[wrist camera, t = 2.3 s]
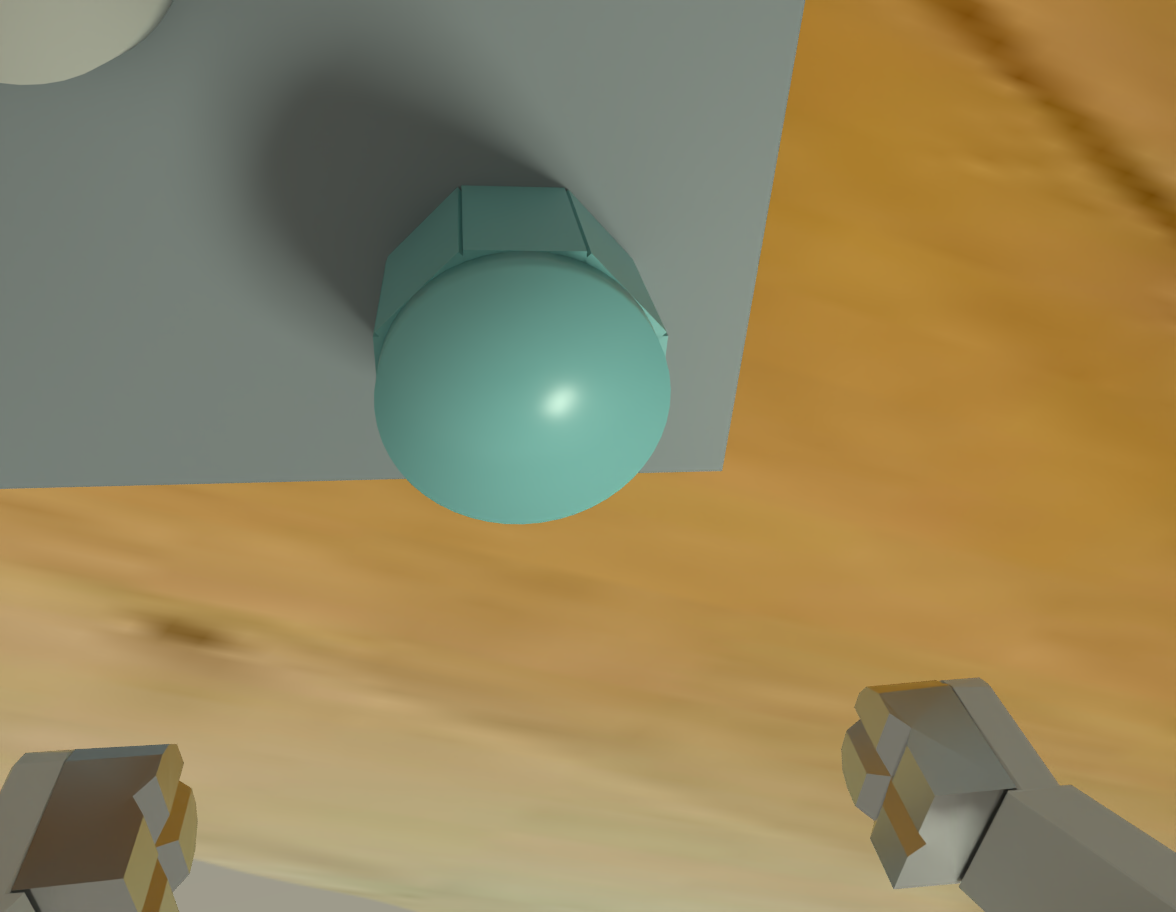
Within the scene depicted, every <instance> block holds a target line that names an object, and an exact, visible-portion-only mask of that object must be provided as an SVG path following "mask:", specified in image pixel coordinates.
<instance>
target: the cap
mask: <svg viewBox="0 0 1176 912" xmlns="http://www.w3.org/2000/svg"><path fill="white" fill-rule="evenodd" d="M461 189H462V191H461V190H460V189H459V188H458V187H457V188H456V189H455V190H454V191H453V192H452V193H451V194H450V195H449V196H448V197H447V198H446V199H445V200H444V201H443V202H442V203H441V204H440V205H439V206H438V207H437V208H436V209H435V210H434V211H433V212H432V213H431V214H430V215H429V216H428V217H427V218H426V219H425V220H424V221H423V222H422V223H421V224H420V225H419V226H418V227H417V228H416V229H415V230H414V231H413V232H412V233H411V234H410V235H409V236H408V237H407V238H406V239H405V240H404V241H403V242H402V243H401V244H400V245H399V246H398V247H397V248H396V249H395V250H394V251H393V252H392V253H391V254H390V255H389V256H388V257H387V260H386V264H385V270H384V275H383V281H382V287H381V293H380V298H379V304H378V310H377V316H376V321H375V327H374V333H373V345H374V357H375V368H376V383H375V389H374V411H375V417H376V423H377V428H378V431H379V434H380V437H381V440H382V443H383V445H384V447H385V449H386V451H387V453H388V455H389V457H390V458H391V460H392V461H393V463H394V464H395V466H396V467H397V468H398V470H399V471H400V472H401V474H402V475H403V476H404V477H405V478H406V479H407V480H408V481H409V482H410V483H411V484H412V485H413V486H414V487H415V488H417V489H418V490H419V491H420V492H421V493H423V494H424V495H425V496H427V497H428V498H430V499H431V500H433V501H434V502H436V503H438V504H439V505H441V506H443V507H445V508H448V509H450V510H452V511H454V512H456V513H459V514H462V515H465V516H468V517H470V518H475V519H479V520H483V521H487V522H495V523H503V524H530V523H541V522H546V521H552V520H557V519H561V518H564V517H567V516H571V515H574V514H577V513H579V512H582V511H584V510H586V509H589V508H591V507H593V506H595V505H597V504H598V503H600V502H602V501H604V500H606V499H607V498H609V497H610V496H611V495H613V494H614V493H616V492H617V491H619V490H620V489H621V488H622V487H623V486H625V485H626V484H627V483H628V482H629V481H630V480H631V479H633V477H634V476H635V475H636V474H637V473H638V472H639V471H640V470H641V469H642V467H643V466H644V465H645V464H646V462H647V461H648V459H649V458H650V456H651V455H652V453H653V452H654V450H655V448H656V446H657V444H658V442H659V440H660V438H661V436H662V433H663V431H664V428H665V425H666V422H667V417H668V413H669V408H670V395H671V386H670V375H669V369H668V365H667V361H666V349H667V341H668V335H667V333H666V332H667V331H666V329H665V327H664V325H663V323H662V321H661V319H660V316H659V314H658V312H657V310H656V308H655V306H654V304H653V301H652V299H651V297H650V295H649V293H648V291H647V289H646V286H645V284H644V282H643V280H642V278H641V276H640V274H639V271H638V269H637V267H636V265H635V263H634V261H633V259H632V258H631V257H630V256H629V255H628V253H627V252H626V251H625V250H624V249H623V248H622V247H621V246H620V245H619V244H618V243H617V242H616V240H615V239H614V238H613V237H612V236H611V235H610V234H609V233H608V232H607V231H606V230H605V229H604V227H603V226H602V225H601V224H600V223H599V222H598V221H597V220H596V219H595V218H594V217H593V216H592V214H591V213H590V212H589V211H588V210H587V209H586V208H585V207H584V206H583V205H582V204H581V203H580V201H579V200H578V199H577V198H576V197H575V196H574V195H573V194H572V193H571V192H570V191H569V190H567V191H566V190H565V188H559V187H513V186H468V185H461Z"/></svg>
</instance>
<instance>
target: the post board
mask: <svg viewBox="0 0 1176 912" xmlns="http://www.w3.org/2000/svg"><path fill="white" fill-rule="evenodd" d="M804 4H805V0H0V489H10V488H50V487H91V486H131V485H171V484H212V483H252V482H292V481H332V480H373V479H406V478H405V477H404V476H403V475H402V474H401V472H400V471H399V470H398V468H397V467H396V466H395V464H394V463H393V461H392V460H391V458H390V457H389V455H388V453H387V451H386V449H385V447H384V445H383V443H382V440H381V437H380V434H379V431H378V428H377V423H376V417H375V411H374V389H375V383H376V368H375V357H374V345H373V333H374V327H375V321H376V316H377V310H378V304H379V298H380V293H381V287H382V281H383V275H384V270H385V264H386V260H387V257H388V256H389V255H390V254H391V253H392V252H393V251H394V250H395V249H396V248H397V247H398V246H399V245H400V244H401V243H402V242H403V241H404V240H405V239H406V238H407V237H408V236H409V235H410V234H411V233H412V232H413V231H414V230H415V229H416V228H417V227H418V226H419V225H420V224H421V223H422V222H423V221H424V220H425V219H426V218H427V217H428V216H429V215H430V214H431V213H432V212H433V211H434V210H435V209H436V208H437V207H438V206H439V205H440V204H441V203H442V202H443V201H444V200H445V199H446V198H447V197H448V196H449V195H450V194H451V193H452V192H453V191H454V190H455V189H456V188H457V187H458V188H459V189H460V190H461V191H462V189H461V185H468V186H513V187H559V188H565V190H566V191H567V190H569V191H570V192H571V193H572V194H573V195H574V196H575V197H576V198H577V199H578V200H579V201H580V203H581V204H582V205H583V206H584V207H585V208H586V209H587V210H588V211H589V212H590V213H591V214H592V216H593V217H594V218H595V219H596V220H597V221H598V222H599V223H600V224H601V225H602V226H603V227H604V229H605V230H606V231H607V232H608V233H609V234H610V235H611V236H612V237H613V238H614V239H615V240H616V242H617V243H618V244H619V245H620V246H621V247H622V248H623V249H624V250H625V251H626V252H627V253H628V255H629V256H630V257H631V258H632V259H633V261H634V263H635V265H636V267H637V269H638V271H639V274H640V276H641V278H642V280H643V282H644V284H645V286H646V289H647V291H648V293H649V295H650V297H651V299H652V301H653V304H654V306H655V308H656V310H657V312H658V314H659V316H660V319H661V321H662V323H663V325H664V327H665V329H666V331H667V332H666V333H667V335H668V341H667V349H666V361H667V365H668V369H669V375H670V386H671V395H670V408H669V413H668V417H667V422H666V425H665V428H664V431H663V433H662V436H661V438H660V440H659V442H658V444H657V446H656V448H655V450H654V452H653V453H652V455H651V456H650V458H649V459H648V461H647V462H646V464H645V465H644V466H643V467H642V469H641V470H640V471H639V472H638V473H655V472H695V471H722V468H723V462H724V457H725V451H726V445H727V440H728V434H729V428H730V423H731V417H732V411H733V406H734V400H735V394H736V389H737V383H738V377H739V372H740V366H741V360H742V355H743V349H744V343H745V338H746V332H747V326H748V321H749V315H750V309H751V304H752V298H753V292H754V287H755V281H756V275H757V270H758V264H759V258H760V253H761V247H762V241H763V236H764V230H765V224H766V219H767V213H768V207H769V202H770V196H771V190H772V185H773V179H774V173H775V168H776V162H777V156H778V151H779V145H780V139H781V134H782V128H783V122H784V117H785V111H786V105H787V100H788V94H789V89H790V83H791V77H792V72H793V66H794V60H795V55H796V49H797V43H798V38H799V32H800V26H801V21H802V15H803V9H804Z"/></svg>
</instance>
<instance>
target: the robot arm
mask: <svg viewBox="0 0 1176 912" xmlns="http://www.w3.org/2000/svg"><path fill="white" fill-rule="evenodd" d="M855 709H856V711H857V713H858V715H859V717H860V720H859V721H857V722H856V723H855V724H854V725H853V726H852V727H850V728H849V729H848V730H847V731H846V734H845V738H844V741H843V745H842V749H841V750H842V769H843V774H844V777H845V781H846V785H847V788H848V790H849V793H850V795H851V797H852V799H853V802H854V804H855V806H856V807H857V808H859V809H860V810H861V811H862V812H864V813H865V814H866V815H868V816H869V817H870V818H871V819H873V820H874V825H873V829H872V833H871V837H870V839H871V841H872V844H873V846H874V848H875V850H876V852H877V854H878V856H879V859H880V861H881V863H882V865H883V867H884V869H885V871H886V874H887V876H888V878H889V880H890V882H891V884H892V887H893V889H901V888H912V887H923V886H934V885H946V884H957V883H960V885H959V888H960V889H961V890H962V891H963V892H965V893H966V894H967V895H968V896H969V897H970V898H971V899H972V900H973V901H974V902H975V903H976V904H977V905H978V906H980V907H981V908H982V909H983V910H984V911H985V912H1176V853H1175V852H1174V851H1172V850H1171V849H1169V848H1168V847H1166V846H1165V845H1163V844H1161V843H1160V842H1158V841H1157V840H1155V839H1154V838H1152V837H1151V836H1149V835H1148V834H1146V833H1145V832H1143V831H1141V830H1140V829H1138V828H1137V827H1135V826H1134V825H1132V824H1131V823H1129V822H1128V821H1126V820H1125V819H1123V818H1121V817H1120V816H1118V815H1117V814H1115V813H1114V812H1112V811H1111V810H1109V809H1108V808H1106V807H1105V806H1103V805H1101V804H1100V803H1098V802H1097V801H1095V800H1094V799H1092V798H1091V797H1089V796H1088V795H1086V794H1084V793H1083V792H1081V791H1080V790H1078V789H1077V788H1075V787H1074V786H1072V785H1059V784H1058V782H1057V781H1056V779H1055V778H1054V776H1053V775H1052V774H1051V772H1050V771H1049V769H1048V768H1047V767H1046V765H1045V764H1044V762H1043V761H1042V759H1041V758H1040V757H1039V755H1038V754H1037V752H1036V751H1035V749H1034V748H1033V747H1032V745H1031V744H1030V742H1029V741H1028V739H1027V738H1026V737H1025V735H1024V734H1023V732H1022V731H1021V729H1020V728H1019V727H1018V725H1017V724H1016V722H1015V721H1014V720H1013V718H1012V717H1011V715H1010V714H1009V712H1008V711H1007V710H1006V708H1005V707H1004V705H1003V704H1002V702H1001V701H1000V700H999V698H998V697H997V695H996V694H995V692H994V691H993V690H992V688H991V687H990V686H989V684H988V683H986V682H985V681H983V680H982V679H981V678H967V679H954V680H942V681H937V680H932V681H922V682H911V683H901V684H890V685H880V686H869V687H866V688H865V689H863V690H862V691H861V692H860V693H859V695H858V698H857V701H856V704H855ZM183 764H184V762H183V760H182V757H181V754H180V751H179V749H178V746H177V744H164V745H146V746H128V747H110V748H91V749H75V750H61V751H47V752H33V753H25V754H24V755H23V756H22V757H21V758H20V759H19V760H18V761H17V762H16V764H15V765H14V766H13V767H12V768H11V770H10V772H9V774H8V776H7V778H6V780H5V783H4V785H3V787H2V789H1V791H0V912H179V910H178V907H177V904H176V901H175V899H174V896H173V893H172V892H173V891H174V890H175V889H176V888H177V887H178V886H179V885H180V884H181V883H182V882H183V881H184V879H185V878H186V877H187V876H188V875H189V874H190V869H191V866H192V861H193V857H194V852H195V847H196V835H197V822H198V821H197V810H196V802H195V798H194V795H193V791H192V788H190V787H189V786H187V785H185V784H184V783H182V782H181V781H179V779H180V775H181V772H182V768H183Z"/></svg>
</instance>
